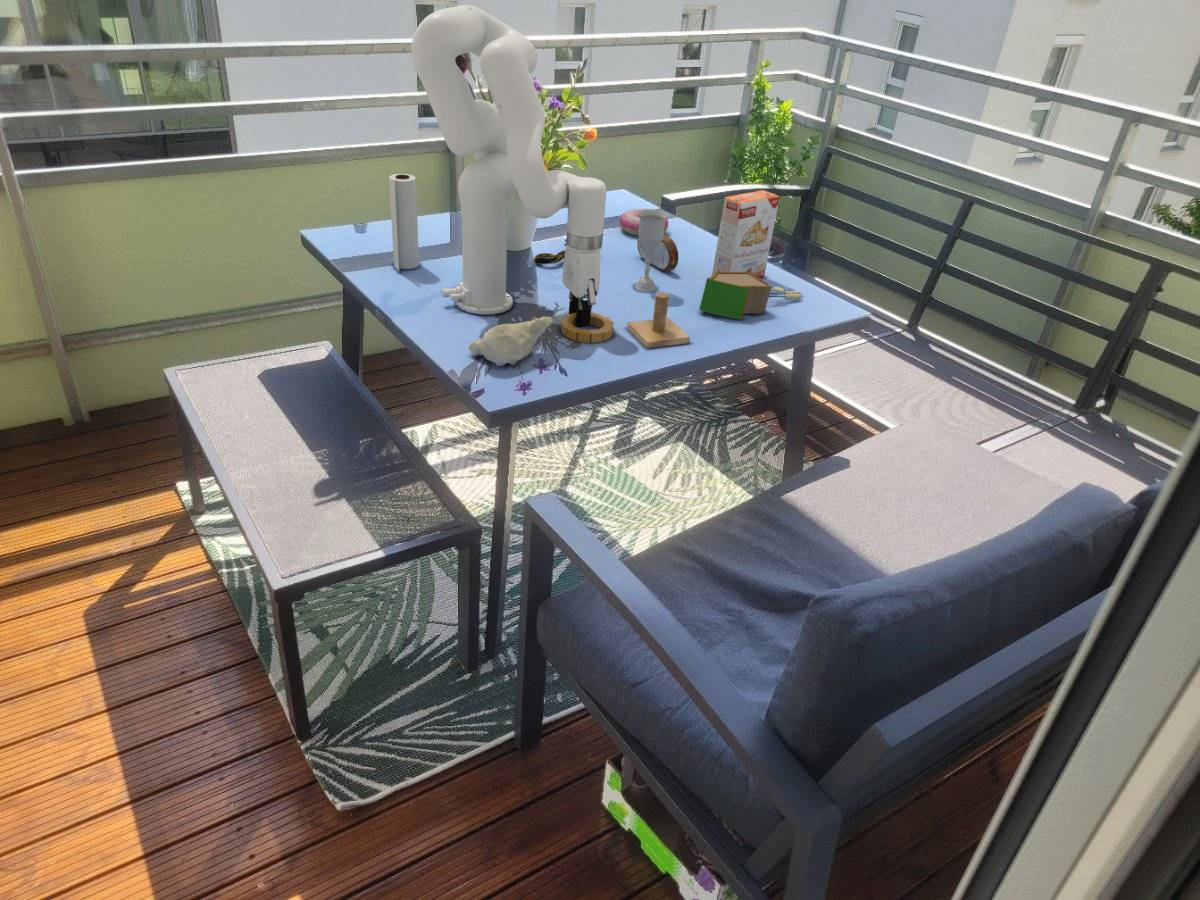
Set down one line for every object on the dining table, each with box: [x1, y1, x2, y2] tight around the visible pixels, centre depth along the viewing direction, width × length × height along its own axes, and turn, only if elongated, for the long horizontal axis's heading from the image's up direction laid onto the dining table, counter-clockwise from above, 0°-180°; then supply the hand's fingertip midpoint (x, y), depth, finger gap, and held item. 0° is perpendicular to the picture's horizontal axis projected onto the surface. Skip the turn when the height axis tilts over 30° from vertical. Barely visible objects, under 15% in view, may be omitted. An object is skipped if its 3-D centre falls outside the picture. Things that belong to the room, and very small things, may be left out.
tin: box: [636, 234, 679, 272], centre depth 228 cm, size 15×3×8 cm, turn 32°
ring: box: [560, 312, 615, 344], centre depth 194 cm, size 11×11×2 cm
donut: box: [619, 208, 669, 237], centre depth 251 cm, size 14×13×5 cm
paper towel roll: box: [388, 173, 420, 272], centre depth 212 cm, size 7×6×21 cm
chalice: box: [634, 208, 669, 293], centre depth 213 cm, size 7×7×18 cm
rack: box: [626, 291, 691, 349], centre depth 193 cm, size 10×10×10 cm
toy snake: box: [533, 239, 566, 265], centre depth 229 cm, size 18×5×10 cm
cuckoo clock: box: [699, 270, 802, 321], centre depth 212 cm, size 12×8×30 cm
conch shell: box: [468, 316, 554, 367], centre depth 179 cm, size 15×7×15 cm
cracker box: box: [711, 189, 781, 279], centre depth 221 cm, size 14×6×21 cm, turn 129°
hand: (579, 320), depth 198 cm, fingers open, 3 cm apart
